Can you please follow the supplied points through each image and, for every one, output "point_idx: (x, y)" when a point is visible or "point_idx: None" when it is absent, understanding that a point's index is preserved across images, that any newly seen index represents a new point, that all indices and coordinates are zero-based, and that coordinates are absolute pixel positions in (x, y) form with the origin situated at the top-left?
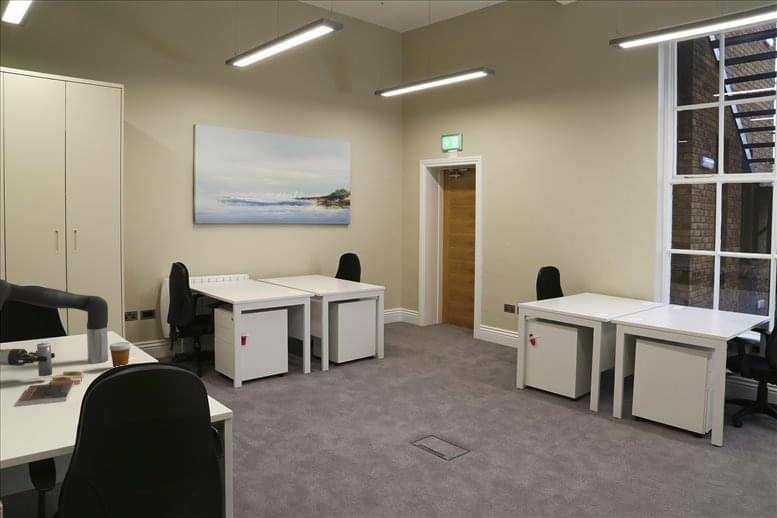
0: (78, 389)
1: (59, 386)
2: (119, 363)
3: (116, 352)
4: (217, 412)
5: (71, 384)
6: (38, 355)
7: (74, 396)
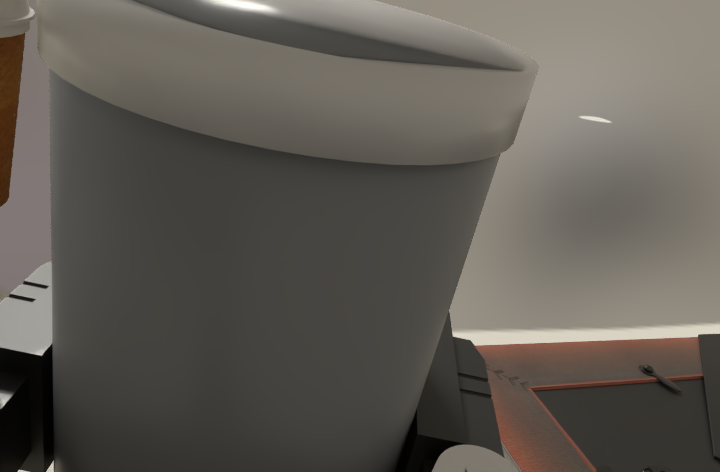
0: (517, 339)
1: (585, 413)
2: (11, 148)
3: (13, 53)
4: (608, 122)
5: (514, 348)
6: (400, 424)
7: (655, 338)
